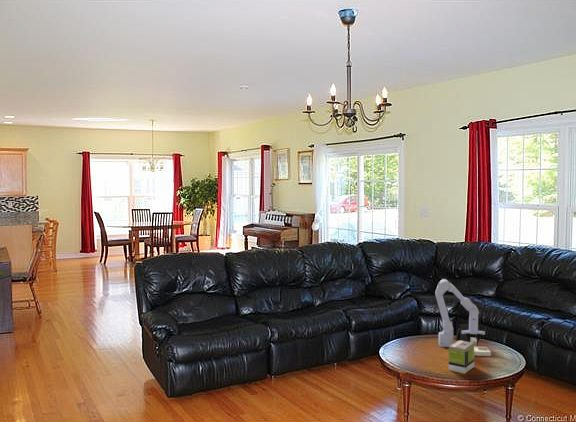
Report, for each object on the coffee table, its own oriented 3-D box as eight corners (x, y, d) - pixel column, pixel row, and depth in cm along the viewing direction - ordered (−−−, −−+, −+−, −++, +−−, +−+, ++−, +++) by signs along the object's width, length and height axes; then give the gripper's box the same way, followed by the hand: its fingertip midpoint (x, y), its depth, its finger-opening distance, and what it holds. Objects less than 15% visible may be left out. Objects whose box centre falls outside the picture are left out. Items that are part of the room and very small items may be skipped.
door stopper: (470, 343, 364) (470, 325, 363) (462, 343, 363) (462, 326, 362) (462, 339, 373) (463, 322, 372) (455, 340, 371) (455, 322, 370)
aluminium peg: (470, 348, 354) (470, 339, 353) (469, 346, 357) (469, 337, 357) (476, 348, 353) (476, 339, 353) (475, 346, 357) (475, 337, 357)
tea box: (458, 363, 324) (458, 339, 323) (474, 367, 318) (475, 342, 317) (448, 370, 313) (448, 345, 312) (464, 374, 306) (465, 348, 305)
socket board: (464, 355, 339) (464, 351, 339) (460, 349, 350) (461, 345, 350) (490, 356, 337) (490, 352, 337) (486, 350, 348) (486, 346, 348)
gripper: (463, 325, 351) (462, 346, 352) (486, 326, 350) (485, 347, 350) (461, 323, 358) (460, 343, 359) (483, 323, 357) (483, 343, 357)
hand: (472, 344), depth 355 cm, fingers closed on aluminium peg, 4 cm apart
